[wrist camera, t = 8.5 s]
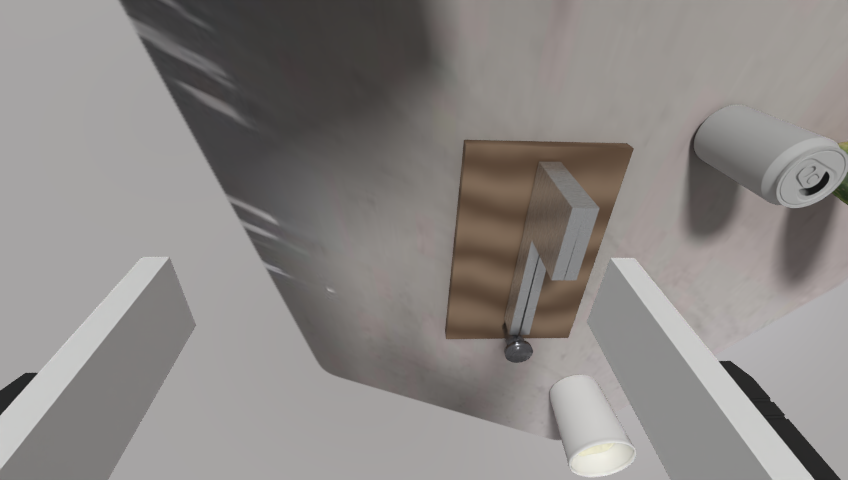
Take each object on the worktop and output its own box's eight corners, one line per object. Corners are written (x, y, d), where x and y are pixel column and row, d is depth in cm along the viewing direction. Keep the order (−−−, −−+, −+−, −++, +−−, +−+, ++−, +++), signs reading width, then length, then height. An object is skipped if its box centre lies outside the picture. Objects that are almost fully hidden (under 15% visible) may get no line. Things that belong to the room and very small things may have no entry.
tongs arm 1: (512, 317, 56) (532, 379, 47) (504, 317, 55) (522, 379, 47) (549, 161, 43) (586, 208, 34) (538, 161, 43) (572, 207, 34)
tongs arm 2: (523, 317, 56) (544, 379, 47) (514, 317, 56) (534, 379, 47) (560, 161, 43) (599, 208, 35) (549, 161, 43) (585, 208, 34)
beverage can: (705, 170, 46) (789, 225, 36) (678, 134, 44) (761, 183, 34) (760, 129, 44) (866, 176, 34) (735, 88, 41) (842, 127, 31)
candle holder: (567, 364, 65) (598, 436, 55) (614, 379, 68) (651, 450, 58) (533, 399, 70) (555, 471, 60) (578, 411, 72) (606, 481, 62)
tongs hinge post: (520, 334, 58) (530, 362, 54) (496, 335, 58) (503, 363, 54) (525, 316, 56) (535, 344, 52) (499, 317, 56) (507, 344, 52)
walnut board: (464, 140, 43) (466, 145, 42) (627, 143, 44) (633, 148, 43) (445, 331, 59) (446, 338, 58) (564, 330, 60) (568, 337, 59)
